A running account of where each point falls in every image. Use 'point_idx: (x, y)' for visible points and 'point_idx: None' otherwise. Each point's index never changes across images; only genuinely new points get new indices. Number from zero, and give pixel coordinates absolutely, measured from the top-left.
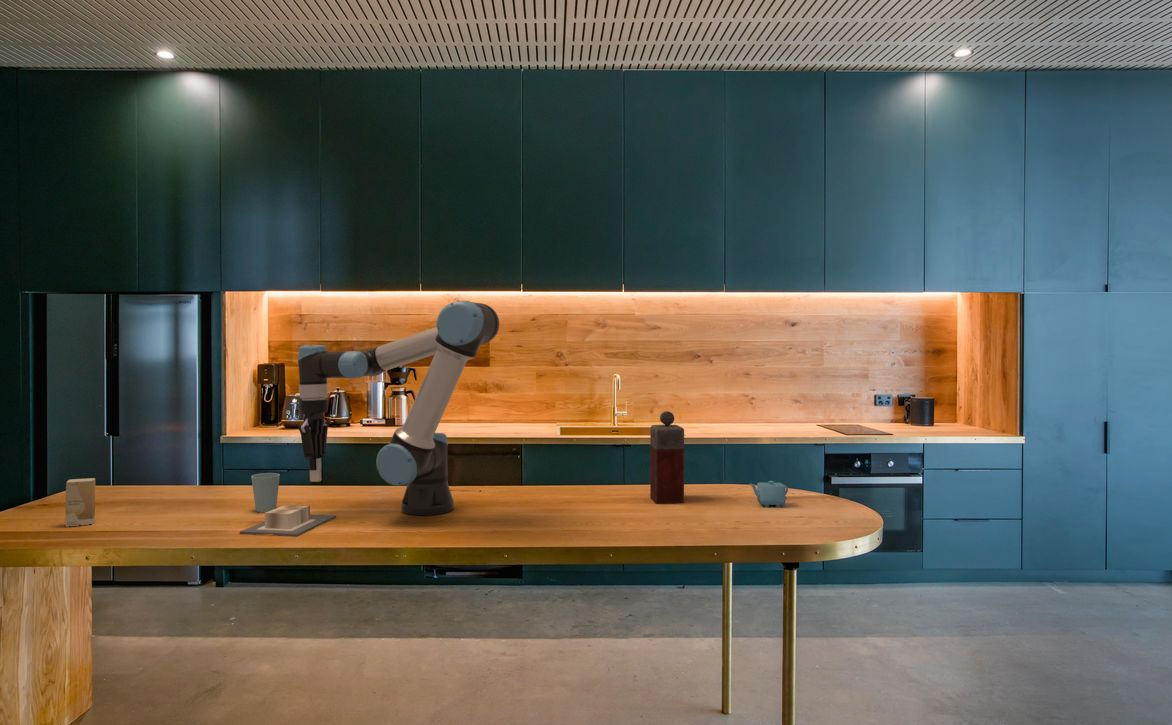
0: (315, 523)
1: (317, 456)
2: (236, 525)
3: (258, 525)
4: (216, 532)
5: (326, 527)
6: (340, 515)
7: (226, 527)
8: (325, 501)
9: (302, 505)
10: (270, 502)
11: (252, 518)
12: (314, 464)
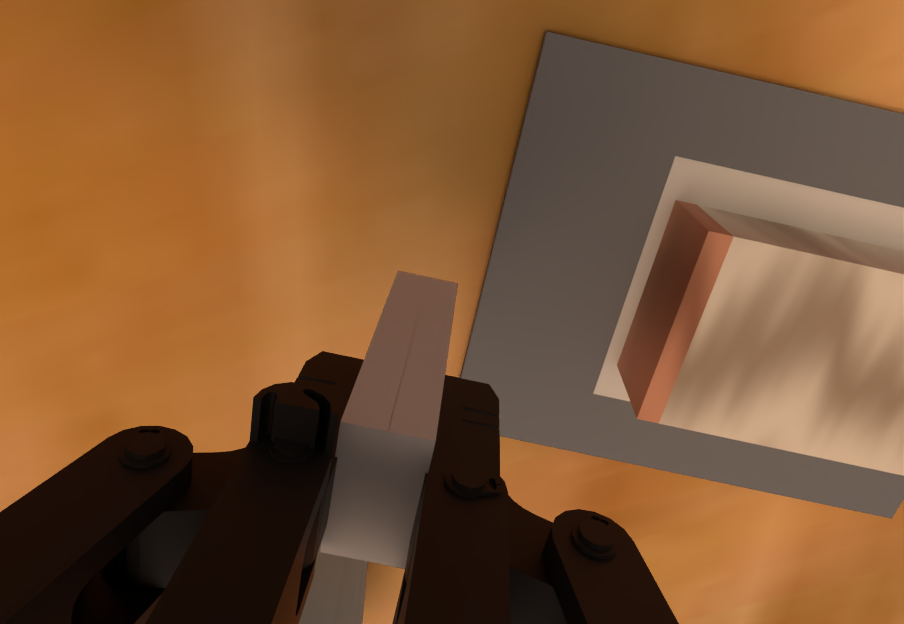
0: (802, 122)
1: (454, 477)
2: (671, 578)
3: (765, 470)
4: (811, 616)
5: (873, 12)
6: (470, 18)
7: (708, 607)
8: (22, 281)
9: (700, 291)
10: (342, 558)
11: None
12: (490, 433)
